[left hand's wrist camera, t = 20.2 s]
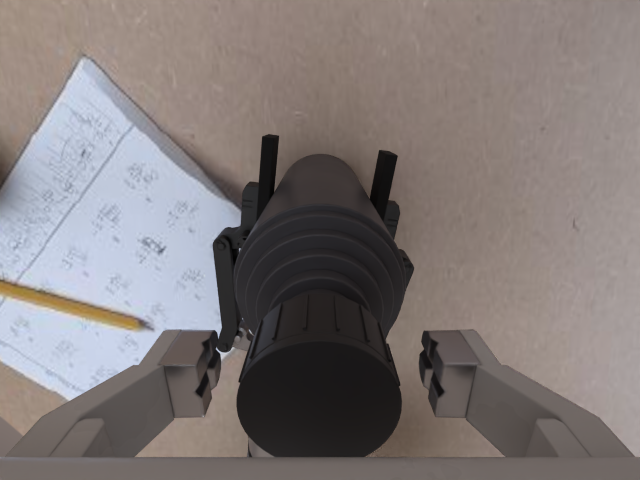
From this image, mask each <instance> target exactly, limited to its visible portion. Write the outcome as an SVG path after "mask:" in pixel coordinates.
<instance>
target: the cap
mask: <svg viewBox="0 0 640 480" xmlns="http://www.w3.org/2000/svg"><path fill="white" fill-rule="evenodd" d="M239 382H240V385H239V389H238V394H237V412H238V417H239V420H240V423H241V425H242V427H243V429H244V430H245V432H246V433H247V435H248V436H249V437H250V439H251V440H252V441H253V442H254V443H255V444H256V445H257V446H259V447H260V448H261V449H262V450H264V451H265V452H267V453H269V454H270V455H272V456H274V457H365V456H367V455H368V454H370V453H372V452H373V451H375V450H376V449H377V448H379V447H380V446H381V445H382V444H383V443H384V442H385V441H386V440H387V439H388V438H389V437H390V436H391V434H392V433H393V431H394V429H395V428H396V426H397V423H398V421H399V418H400V414H401V408H402V399H401V392H400V388H399V386H400V381H399V378H398V374H397V371H396V368H395V364H394V361H393V358H392V354H391V351H390V347H389V344H387V343H386V340H385V336H384V333H383V329H382V326H381V323H380V322H377V320H376V319H375V318H374V317H373V315H372V314H371V313H370V312H369V311H367V310H366V309H365V308H364V307H363V306H362V305H359V304H358V303H356V302H354V301H352V300H350V299H347V298H344V297H341V296H337V295H332V294H323V293H318V294H305V295H301V296H298V297H294V298H292V299H289V300H287V301H285V302H283V303H280V304H279V305H278V306H276V307H275V308H274V309H272V310H271V311H270V312H269V313H268V314H267V315H266V316H265V317H264V319H263V320H262V319H261V320H260V322H259V325H258V328H257V330H256V333H255V336H254V339H253V341H252V340H251V342H250V345H249V349H248V352H247V355H246V358H245V362H244V365H243V368H242V371H241V374H240V378H239Z"/></svg>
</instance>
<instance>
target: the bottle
mask: <svg viewBox="0 0 640 480" xmlns="http://www.w3.org/2000/svg"><path fill="white" fill-rule="evenodd" d="M233 283H234V292H235V296H236V301H237V303H238V307H239V310H240V313H241V315H242V318H243V320H244V321H245V323H246V325H247V327H248V328H249V329H250V331H251V332H252V333H253V334H254V335H255V333H256V330H257V328H258V325H259V322H260V320H261V319H262V320H263V319H264V317H265V316H266V315H267V314H268V313H269V312H270V311H271V310H272V309H274V308H275V307H276V306H278V305H279V304H280V303H283V302H285V301H287V300H289V299H292V298H294V297H298V296H301V295H305V294H318V293H323V294H332V295H337V296H341V297H344V298H347V299H350V300H352V301H354V302H356V303H358V304H359V305H362V306H363V307H364V308H365V309H366V310H367V311H369V312H370V313H371V314H372V315H373V317H374V318H375V319H376V320H377V322H380V323H381V326H382V329H383V333H384V336H385V335H386V334H387V333H388V331H389V330H390V329H391V327H392V326H393V324H394V322H395V321H396V319H397V316H398V314H399V311H400V309H401V305H402V303H403V299H404V295H405V288H406V272H405V266H404V262H403V259H402V256H401V253H400V251H399V249H398V247H397V245H396V243H395V242H394V240H393V238H392V237H391V235H390V233H389V231H388V230H387V228H386V226H385V225H384V223H383V221H382V219H381V218H380V216H379V214H378V213H377V211H376V209H375V207H374V206H373V204H372V202H371V201H370V199H369V197H368V196H367V194H366V192H365V190H364V189H363V187H362V185H361V184H360V182H359V180H358V178H357V177H356V175H355V173H354V172H353V170H352V169H351V168H350V167H349V166H348V165H347V164H346V163H345V162H344V161H342V160H340V159H339V158H336V157H334V156H331V155H326V154H315V155H310V156H306V157H304V158H302V159H300V160H298V161H297V162H296V163H294V164H293V165H292V166H291V167H290V168H289V170H288V171H287V172H286V174H285V176H284V177H283V179H282V181H281V182H280V184H279V186H278V187H277V189H276V191H275V192H274V194H273V196H272V197H271V199H270V201H269V202H268V204H267V206H266V207H265V209H264V211H263V212H262V214H261V216H260V217H259V219H258V221H257V222H256V224H255V226H254V227H253V229H252V231H251V232H250V234H249V236H248V237H247V239H246V241H245V243H244V244H243V246H242V248H241V250H240V252H239V255H238V257H237V260H236V264H235V269H234V280H233Z"/></svg>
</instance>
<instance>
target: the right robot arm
mask: <svg viewBox="0 0 640 480" xmlns="http://www.w3.org/2000/svg"><path fill="white" fill-rule="evenodd" d="M278 142H279V136H278V135H271V134H268V135H265V136H263V137H262V147H261V161H260V175H259V183H258V182H249V183H248V184H247V185H246V186H245V188H244V190H243V195H242V213H241V226H239V227H235V228H231V227H227V228H225V229H224V230H223V231H222V232H221V233H220V234H219V236H218V237H217V238H216V239H215V241H214V242H213V252H214V261H215V269H216V278H217V287H218V296H219V305H220V313H221V322H222V329H221V333H220V336H219V339H218V341H219V342H218V345H217V348H218V350H219V351H221V352H229V351H230V350H231V348H232V347H235V348H238V349H241V350H245V351H248V349H249V345H250V342H251V340H252V341H253V339H254V336H253V335H252V334H250V332H249V328H248V327H247V325H246V323H245V321H244V320H243V319H242V315H241V313H240V310H239V307H238V303H237V301H236V296H235V292H234V283H233V280H234V269H235V264H236V260H237V257H238V255H239V248H242V246H243V244H244V243H245V241H246V239H247V237H248V236H249V234H250V232H251V231H252V229H253V227H254V226H255V224H256V222H257V221H258V219H259V217H260V216H261V214H262V212H263V211H264V209H265V207H266V206H267V204H268V202H269V201H270V199H271V197H272V196H273V194H274V187H275V176H276V164H277V153H278ZM397 157H398V156H397V155H395V154H394V153H392V152H390V151H383V150H379V154H378V159H377V164H376V169H375V174H374V180H373V185H372V190H371V195H370V201H371V202H372V204H373V206H374V207H375V209H376V211H377V213H378V214H379V216H380V218H381V219H382V221H383V223H384V225H385V226H386V228H387V230H388V231H389V233H390V235H391V237H392V238H393V240H394V237H395V233H396V229H397V224H398V220H399V215H400V210H399V206H398V205H397V203H396V202H395V201H390V200H388V199H389V194H390V189H391V185H392V180H393V175H394V171H395V166H396V161H397ZM399 251H400V253H401V256H402V259H403V262H404V266H405V272H406V288H407V286H408V283H409V281H410V278H411V276H412V274H413V271H414V266H413V264H412V263H411V261H410V259H409V258H408V256H407V254H406V253H405V252H404V251H403V250H401V249H399ZM406 288H405V291H406ZM388 332H389V331H388ZM387 335H388V333H387V334H386V335H385V340H386V337H387ZM247 457H274V456H272V455H270V454H269V453H267V452H265V451H264V450H262V449H261V448H260V447H259V446H257V445H256V444H255V443H254V442H253V441H252V440H251V439H250V437H249V439H248V454H247Z"/></svg>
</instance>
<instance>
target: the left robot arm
mask: <svg viewBox="0 0 640 480" xmlns="http://www.w3.org/2000/svg"><path fill="white" fill-rule="evenodd" d="M218 342H219V341H218V335H217V332H216V331H215V330H165V331H163V332H162V334H161V335H160V336H159V338H158V339H157V340H156V342H155V343H154V345H153V346H152V347H151V349H150V350H149V351H148V353H147V354H146V356H145V357H144V358H143V360H142V361H141V362H140V364H139V365H133V366H131V367H129V368H127V369H126V370H124V371H122V372H120V373H119V374H117V375H115V376H113V377H111V378H110V379H108V380H106V381H104V382H103V383H101V384H99V385H97V386H96V387H94V388H92V389H90V390H88V391H87V392H85V393H83V394H81V395H80V396H78V397H76V398H74V399H72V400H71V401H69V402H67V403H65V404H64V405H62V406H60V407H58V408H56V409H55V410H53V411H51V412H49V413H48V414H46V415H44V416H42V417H41V418H40V419H39V420H38V421H37V422H36V423H35V425H34V426H33V427H32V428H31V429H30V430H29V431H28V432H27V433H26V434H25V435H24V436H23V438H22V439H21V440H20V441H19V442H18V443H17V444H16V445H15V446H14V447H13V448H12V450H11V451H10V452H9V453H8V454H7V455H6V456H5V457H0V480H640V457H635V456H634V455H633V454H632V453H631V452H630V451H629V449H628V448H627V447H626V446H625V445H624V444H623V443H622V442H621V441H620V440H619V439H618V437H617V436H616V435H615V434H614V433H613V432H612V431H611V430H610V429H609V428H608V427H607V426H606V424H605V423H604V422H603V421H602V420H601V419H600V418H599V417H597V416H596V415H594V414H592V413H590V412H589V411H587V410H585V409H583V408H581V407H580V406H578V405H576V404H574V403H573V402H571V401H569V400H567V399H566V398H564V397H562V396H560V395H558V394H557V393H555V392H553V391H551V390H550V389H548V388H546V387H544V386H543V385H541V384H539V383H537V382H535V381H534V380H532V379H530V378H528V377H527V376H525V375H523V374H521V373H520V372H518V371H516V370H514V369H512V368H511V367H509V366H507V365H501V364H500V363H499V361H498V360H497V358H496V357H495V356H494V354H493V353H492V352H491V350H490V349H489V348H488V346H487V345H486V343H485V342H484V341H483V339H482V338H481V337H480V335H479V334H478V333H477V331H475V330H473V329H469V330H441V331H424V332H423V335H422V341H421V342H422V345H423V347H424V350H423V351H422V352H421V353H420V358H419V371H420V376H421V380H422V383H423V386H424V387H425V388H427V389H428V390H429V395H428V399H429V402H430V404H431V407H432V409H433V412H434V414H435V417H452V418H466V420H467V421H468V422H469V423H470V424H471V425H472V426H473V427H475V428H476V429H477V430H478V431H479V432H480V433H481V434H482V435H483V436H484V437H485V438H486V439H487V440H488V441H489V442H491V443H492V444H493V445H494V446H495V447H496V448H497V449H498V450H499V451H500V452H501V453H502V454H503V455H504V456H505V457H135V456H136V455H137V454H138V453H139V452H140V451H141V450H142V449H143V448H144V447H145V446H146V445H147V444H149V443H150V442H151V441H152V440H153V439H154V438H155V437H156V436H157V435H158V434H159V433H160V432H161V431H162V430H163V429H165V428H166V427H167V426H168V425H169V424H170V423H171V422H172V421H173V420H174V418H188V417H205V414H206V412H207V409H208V407H209V404H210V402H211V399H212V395H211V390H212V389H213V388H215V387H216V386H217V383H218V380H219V376H220V370H221V357H220V353H219V352H218V351H217V350H216V347H217V345H218Z"/></svg>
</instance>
